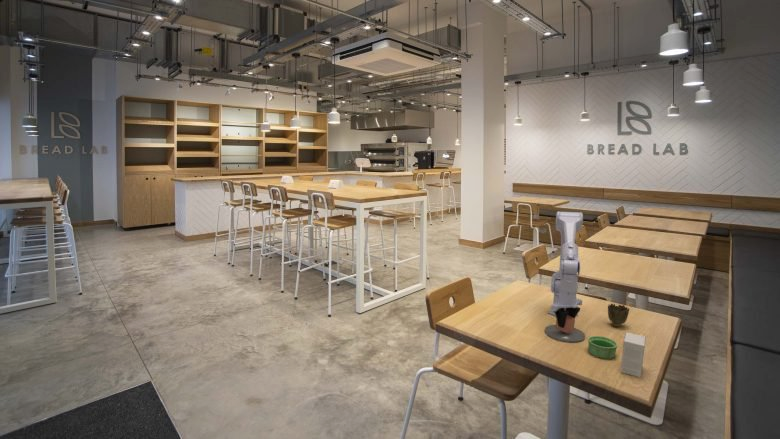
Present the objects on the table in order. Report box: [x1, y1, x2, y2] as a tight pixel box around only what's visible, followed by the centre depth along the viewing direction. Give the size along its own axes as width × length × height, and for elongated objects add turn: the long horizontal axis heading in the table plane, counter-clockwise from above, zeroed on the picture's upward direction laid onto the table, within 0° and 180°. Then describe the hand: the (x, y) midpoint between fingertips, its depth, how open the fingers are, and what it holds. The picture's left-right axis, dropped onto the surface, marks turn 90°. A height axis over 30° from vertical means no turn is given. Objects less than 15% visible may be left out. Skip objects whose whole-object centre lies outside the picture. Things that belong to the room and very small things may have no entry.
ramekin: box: [587, 335, 618, 360], centre depth 138 cm, size 9×9×4 cm
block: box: [555, 315, 576, 333], centre depth 153 cm, size 4×5×5 cm
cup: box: [607, 303, 630, 328], centre depth 160 cm, size 8×7×8 cm
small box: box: [620, 332, 647, 378], centre depth 127 cm, size 8×6×10 cm
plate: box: [544, 324, 586, 344], centre depth 153 cm, size 14×14×1 cm
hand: (565, 325), depth 153 cm, fingers closed on block, 4 cm apart
